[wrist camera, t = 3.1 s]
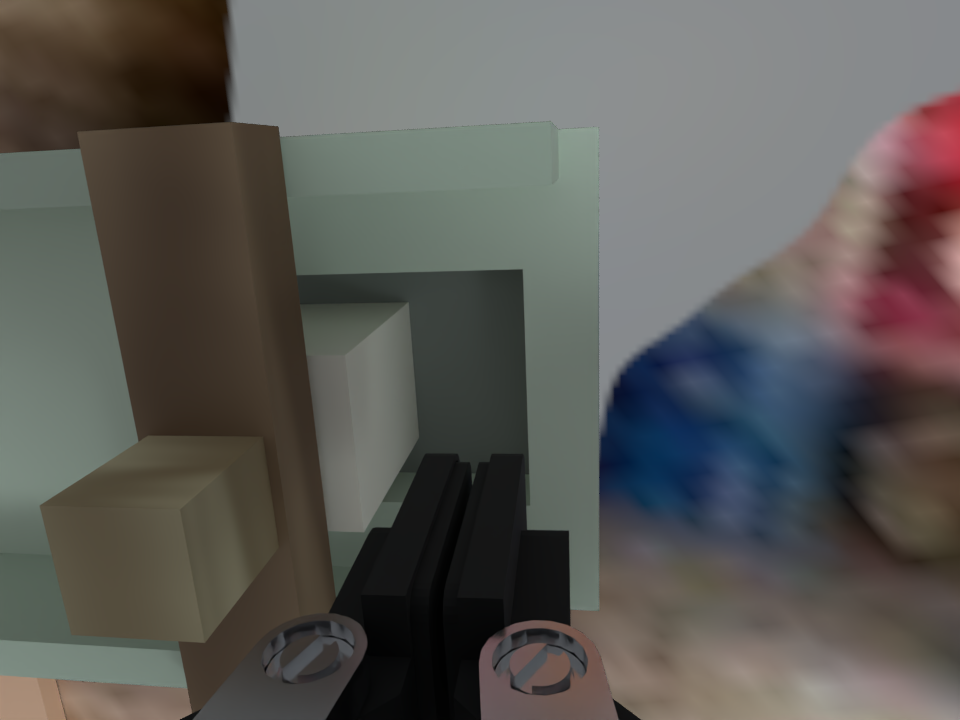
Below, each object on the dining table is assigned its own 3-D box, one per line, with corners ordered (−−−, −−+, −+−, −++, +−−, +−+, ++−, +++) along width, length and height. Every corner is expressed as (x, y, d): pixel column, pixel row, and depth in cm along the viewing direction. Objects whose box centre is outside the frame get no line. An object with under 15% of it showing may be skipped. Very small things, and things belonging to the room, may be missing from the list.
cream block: (408, 302, 21) (345, 355, 16) (419, 437, 23) (363, 532, 17) (271, 305, 22) (162, 356, 16) (288, 436, 23) (193, 526, 18)
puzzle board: (596, 130, 20) (602, 118, 13) (597, 565, 23) (602, 717, 17) (-181, 173, 24) (-465, 180, 17) (-70, 540, 27) (-269, 656, 21)
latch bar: (278, 126, 14) (123, 111, 9) (349, 708, 18) (265, 906, 13) (143, 134, 15) (-72, 124, 10) (241, 701, 18) (123, 889, 14)
